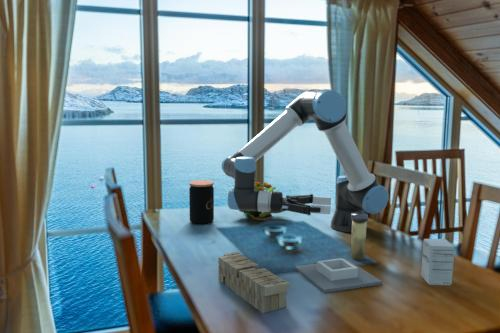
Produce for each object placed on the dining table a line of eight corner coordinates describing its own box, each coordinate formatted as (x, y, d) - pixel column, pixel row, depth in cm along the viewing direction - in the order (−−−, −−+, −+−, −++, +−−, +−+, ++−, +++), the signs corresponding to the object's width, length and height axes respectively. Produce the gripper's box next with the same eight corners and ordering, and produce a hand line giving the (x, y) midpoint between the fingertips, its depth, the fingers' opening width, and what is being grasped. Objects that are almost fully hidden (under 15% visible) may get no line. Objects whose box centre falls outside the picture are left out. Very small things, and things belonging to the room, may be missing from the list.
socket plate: (347, 262, 167) (347, 251, 167) (381, 284, 149) (382, 271, 148) (294, 269, 160) (295, 257, 160) (323, 293, 142) (324, 280, 141)
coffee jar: (209, 226, 209) (209, 185, 207) (186, 224, 211) (185, 184, 209) (216, 219, 220) (216, 180, 217) (194, 218, 222) (193, 179, 219)
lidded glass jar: (360, 254, 176) (362, 211, 173) (369, 259, 170) (371, 215, 168) (346, 255, 174) (348, 212, 171) (354, 261, 168) (357, 216, 166)
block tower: (216, 281, 152) (264, 316, 127) (215, 255, 151) (264, 285, 126) (238, 276, 156) (289, 309, 131) (238, 251, 155) (289, 280, 130)
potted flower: (294, 214, 230) (295, 178, 228) (281, 227, 208) (282, 187, 205) (245, 209, 238) (245, 174, 236) (227, 222, 216) (227, 183, 213)
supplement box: (420, 276, 156) (423, 238, 154) (443, 276, 156) (446, 238, 153) (427, 285, 148) (430, 245, 146) (452, 285, 148) (455, 246, 146)
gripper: (274, 204, 187) (330, 207, 183) (265, 220, 163) (329, 225, 159) (275, 185, 186) (331, 188, 182) (266, 199, 161) (330, 202, 158)
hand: (330, 205), depth 171 cm, fingers open, 13 cm apart
